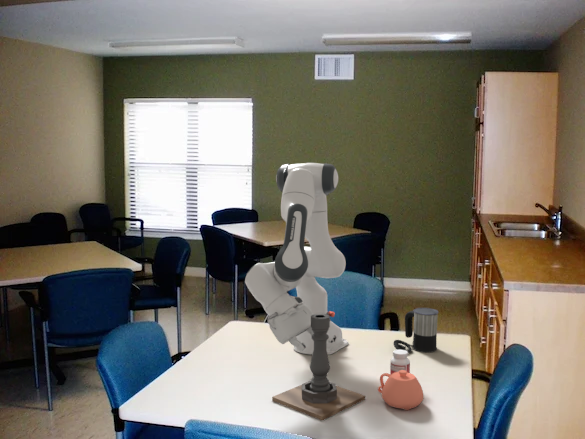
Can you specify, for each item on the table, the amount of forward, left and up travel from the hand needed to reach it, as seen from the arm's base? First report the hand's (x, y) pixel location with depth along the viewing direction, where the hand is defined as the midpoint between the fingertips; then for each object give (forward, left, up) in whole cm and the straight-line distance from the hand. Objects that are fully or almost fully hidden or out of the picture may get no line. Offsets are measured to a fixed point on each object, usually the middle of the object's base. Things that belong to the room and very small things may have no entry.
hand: (310, 345), depth 188 cm
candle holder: (-1, +3, -16) cm, 16 cm away
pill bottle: (-28, +14, -17) cm, 35 cm away
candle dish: (-1, +3, -17) cm, 17 cm away
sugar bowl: (-16, +22, -17) cm, 32 cm away
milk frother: (-60, -1, -17) cm, 63 cm away
